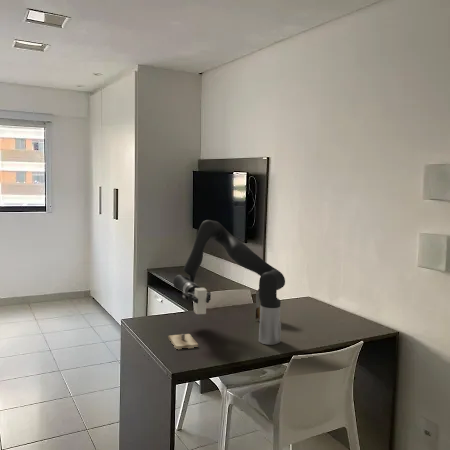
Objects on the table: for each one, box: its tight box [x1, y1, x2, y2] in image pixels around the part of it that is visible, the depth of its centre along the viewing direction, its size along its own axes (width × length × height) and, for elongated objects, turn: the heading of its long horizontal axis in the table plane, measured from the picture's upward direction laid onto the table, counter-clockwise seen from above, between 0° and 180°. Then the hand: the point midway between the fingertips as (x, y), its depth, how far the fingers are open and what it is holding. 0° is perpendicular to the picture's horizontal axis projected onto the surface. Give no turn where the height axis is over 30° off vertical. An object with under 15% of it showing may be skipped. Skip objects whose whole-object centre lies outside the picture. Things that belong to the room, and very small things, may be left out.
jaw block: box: [193, 287, 208, 315], centre depth 215 cm, size 4×4×11 cm
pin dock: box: [167, 333, 199, 350], centre depth 214 cm, size 10×14×4 cm
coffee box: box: [254, 288, 260, 322], centre depth 251 cm, size 9×6×16 cm
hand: (202, 300), depth 212 cm, fingers closed on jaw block, 4 cm apart
